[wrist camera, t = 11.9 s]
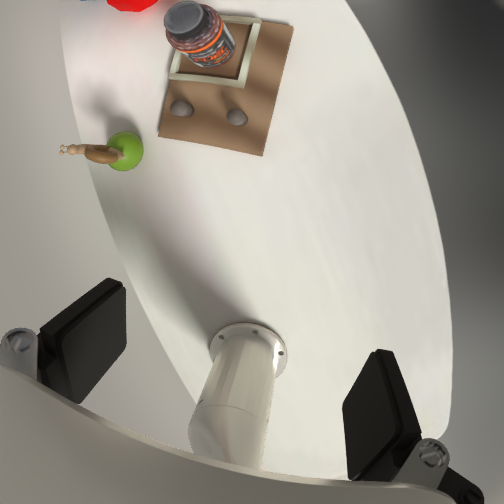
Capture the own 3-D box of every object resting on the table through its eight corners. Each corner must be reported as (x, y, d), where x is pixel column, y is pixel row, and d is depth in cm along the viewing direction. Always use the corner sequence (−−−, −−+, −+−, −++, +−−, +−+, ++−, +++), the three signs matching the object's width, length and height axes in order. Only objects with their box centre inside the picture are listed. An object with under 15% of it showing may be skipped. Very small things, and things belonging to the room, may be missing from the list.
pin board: (262, 156, 36) (257, 157, 31) (161, 136, 36) (144, 136, 32) (293, 29, 29) (292, 14, 24) (191, 18, 30) (179, 6, 25)
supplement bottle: (206, 78, 32) (169, 54, 21) (184, 47, 31) (143, 18, 20) (246, 53, 30) (224, 18, 20) (222, 22, 29) (193, -17, 18)
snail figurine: (118, 127, 37) (63, 126, 26) (154, 136, 37) (103, 136, 25) (110, 162, 39) (55, 171, 28) (144, 173, 39) (92, 186, 27)
